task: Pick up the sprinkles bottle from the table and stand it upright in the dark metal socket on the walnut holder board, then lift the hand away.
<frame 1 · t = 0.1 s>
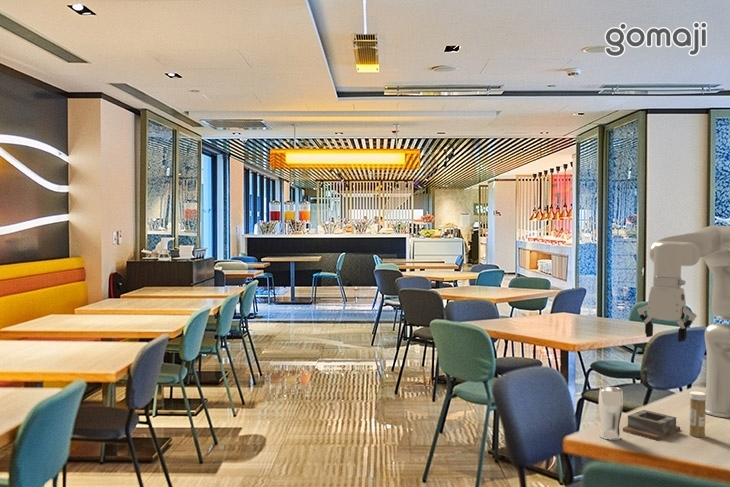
hand: (665, 338, 191), 31 cm above the table, fingers open, 9 cm apart
sprinkles bottle: (696, 435, 197), on the table
socket holder: (651, 430, 201), on the table
beer glass: (609, 437, 194), on the table
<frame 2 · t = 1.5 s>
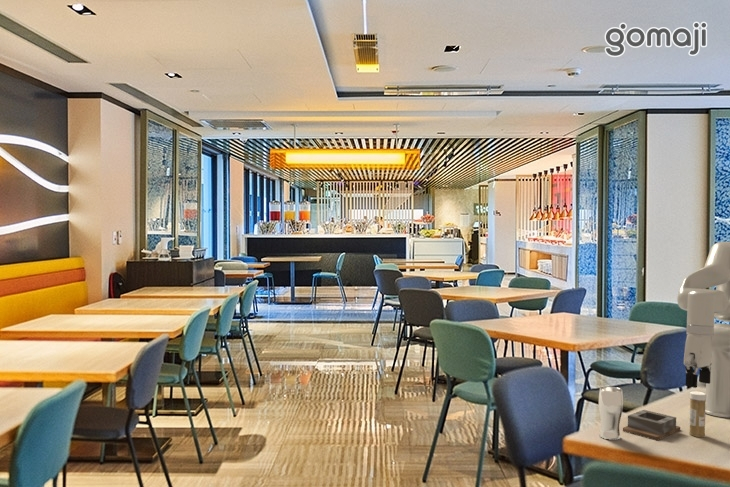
hand: (698, 384, 196), 16 cm above the table, fingers open, 9 cm apart
nothing on the table moved.
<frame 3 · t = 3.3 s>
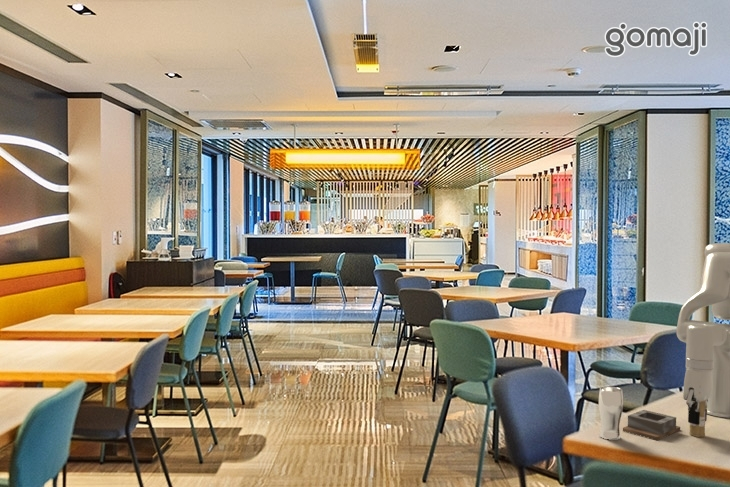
hand: (697, 421, 197), 4 cm above the table, fingers closed on sprinkles bottle, 4 cm apart
sprinkles bottle: (696, 435, 197), on the table, touching gripper
everything else where it was.
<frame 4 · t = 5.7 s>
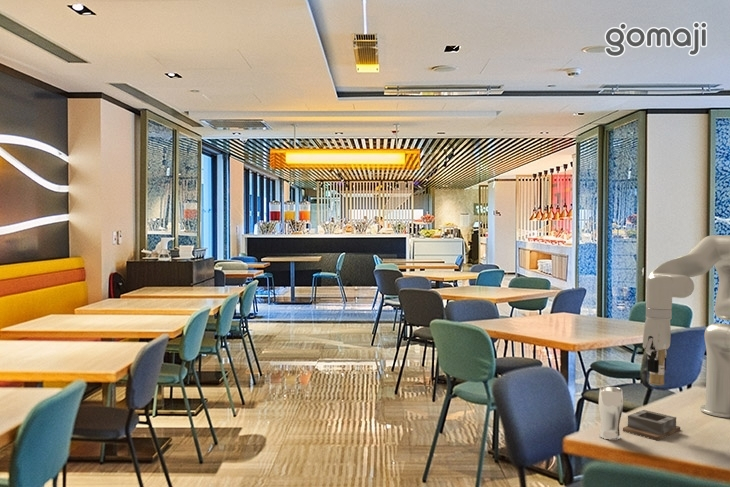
hand: (656, 370, 200), 20 cm above the table, fingers closed on sprinkles bottle, 4 cm apart
sprinkles bottle: (656, 384, 200), point 15 cm above the table, touching gripper
everything else where it was.
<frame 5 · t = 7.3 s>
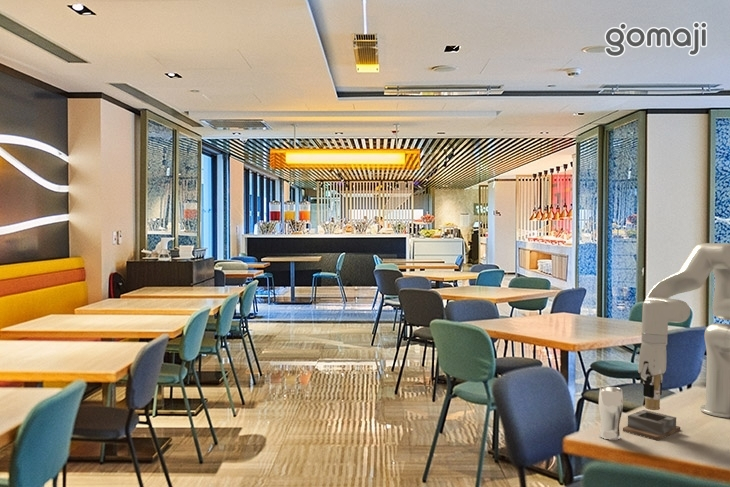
hand: (652, 394, 200), 11 cm above the table, fingers closed on sprinkles bottle, 4 cm apart
sprinkles bottle: (652, 409, 200), point 7 cm above the table, touching gripper
everything else where it was.
when the fingers open (6 cm above the table, at t = 8.6 s): sprinkles bottle stays where it is, resting on socket holder.
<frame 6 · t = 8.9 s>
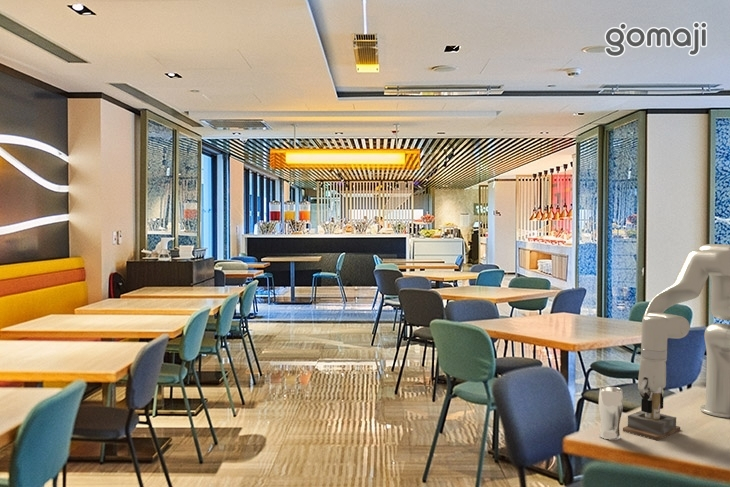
hand: (652, 409, 200), 7 cm above the table, fingers open, 7 cm apart
sprinkles bottle: (652, 427, 201), point 1 cm above the table, touching socket holder
everything else where it was.
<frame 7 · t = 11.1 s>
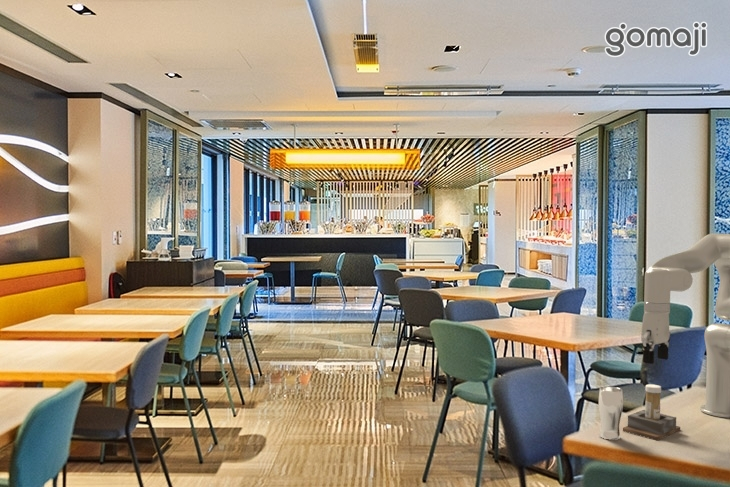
hand: (655, 360, 200), 22 cm above the table, fingers open, 9 cm apart
nothing on the table moved.
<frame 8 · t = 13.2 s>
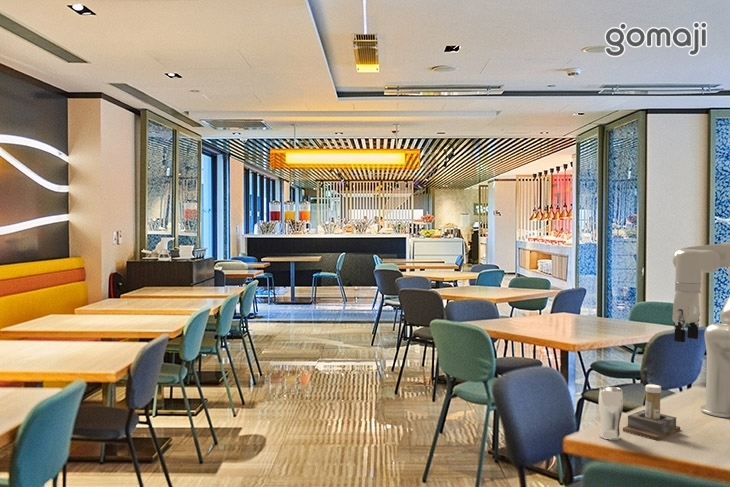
hand: (686, 339, 206), 28 cm above the table, fingers open, 9 cm apart
nothing on the table moved.
at the end: sprinkles bottle 0.2 cm off-centre on the socket holder, point 0.8 cm above the socket holder's base; sprinkles bottle tilted 0°; the gripper is holding nothing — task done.
